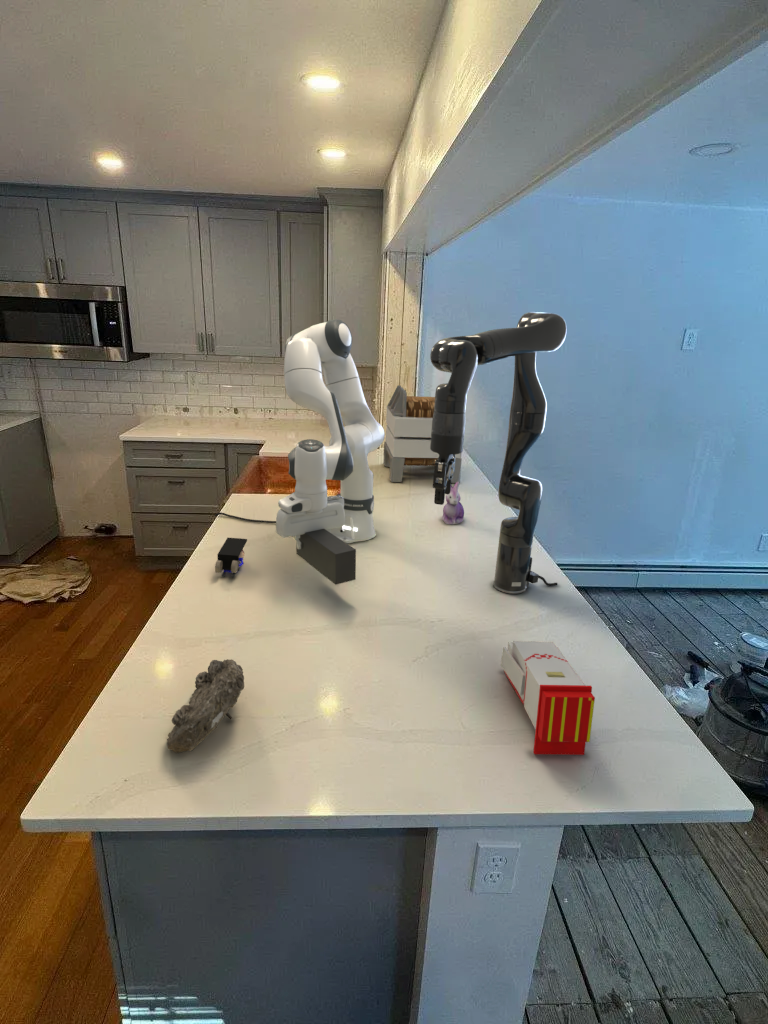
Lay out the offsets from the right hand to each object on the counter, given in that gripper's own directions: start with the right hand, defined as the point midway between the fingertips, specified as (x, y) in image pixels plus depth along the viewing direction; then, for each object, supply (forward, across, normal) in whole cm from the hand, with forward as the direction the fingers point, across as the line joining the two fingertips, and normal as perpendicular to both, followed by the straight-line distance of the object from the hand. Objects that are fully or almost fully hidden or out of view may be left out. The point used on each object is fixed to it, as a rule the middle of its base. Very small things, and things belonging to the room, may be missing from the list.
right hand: (442, 498), depth 134 cm
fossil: (+33, -50, +33) cm, 68 cm away
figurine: (+33, +74, +7) cm, 81 cm away
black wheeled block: (+33, +8, +62) cm, 71 cm away
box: (+26, +6, +32) cm, 42 cm away
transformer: (+33, +134, +33) cm, 142 cm away
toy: (+33, -26, -27) cm, 50 cm away
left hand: (+22, +11, +38) cm, 45 cm away
